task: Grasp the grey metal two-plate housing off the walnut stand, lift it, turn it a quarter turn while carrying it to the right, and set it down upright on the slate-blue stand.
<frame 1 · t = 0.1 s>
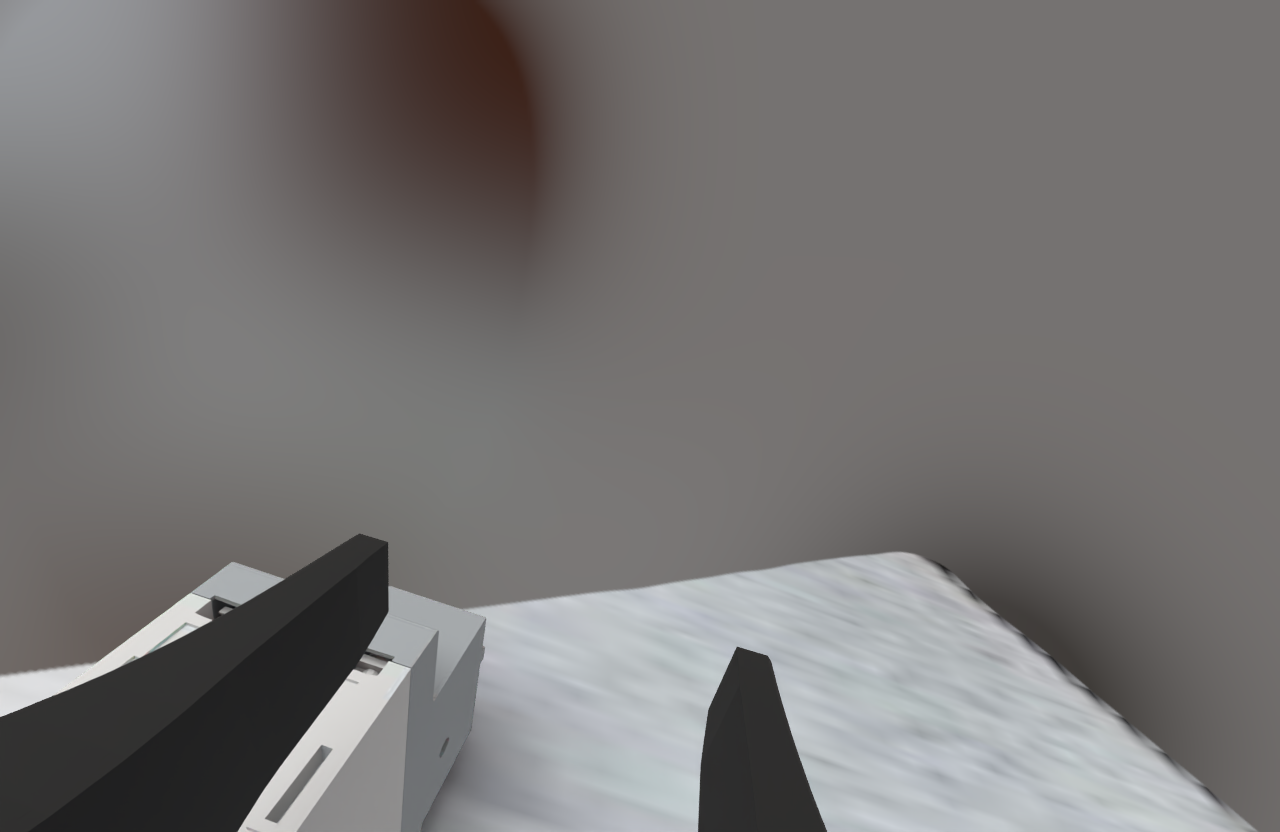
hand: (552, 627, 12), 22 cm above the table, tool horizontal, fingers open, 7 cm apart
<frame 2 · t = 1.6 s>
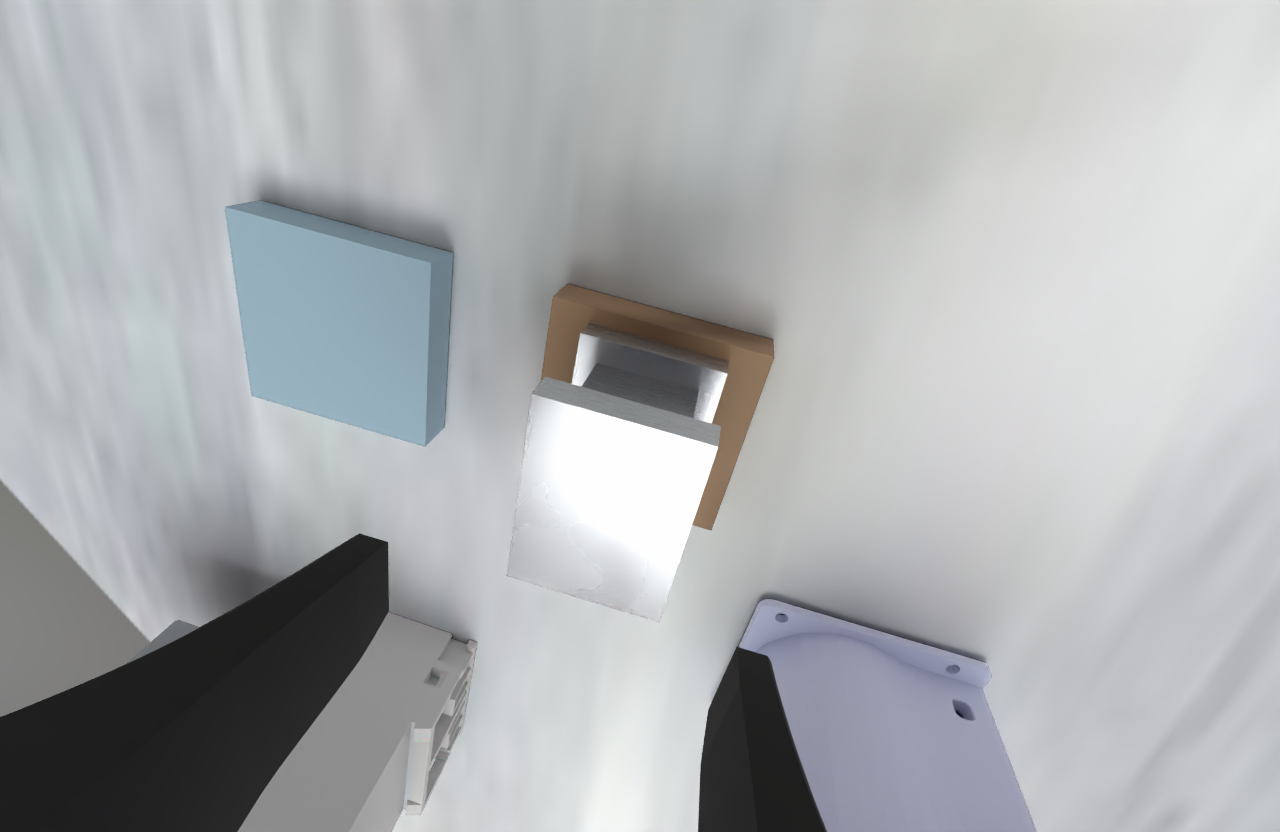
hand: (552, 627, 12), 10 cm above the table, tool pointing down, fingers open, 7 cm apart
stand b: (358, 322, 21), on the table
circuit breaker: (346, 641, 31), on the table
housing: (638, 422, 19), point 1 cm above the table, touching stand a
stand a: (646, 402, 21), on the table
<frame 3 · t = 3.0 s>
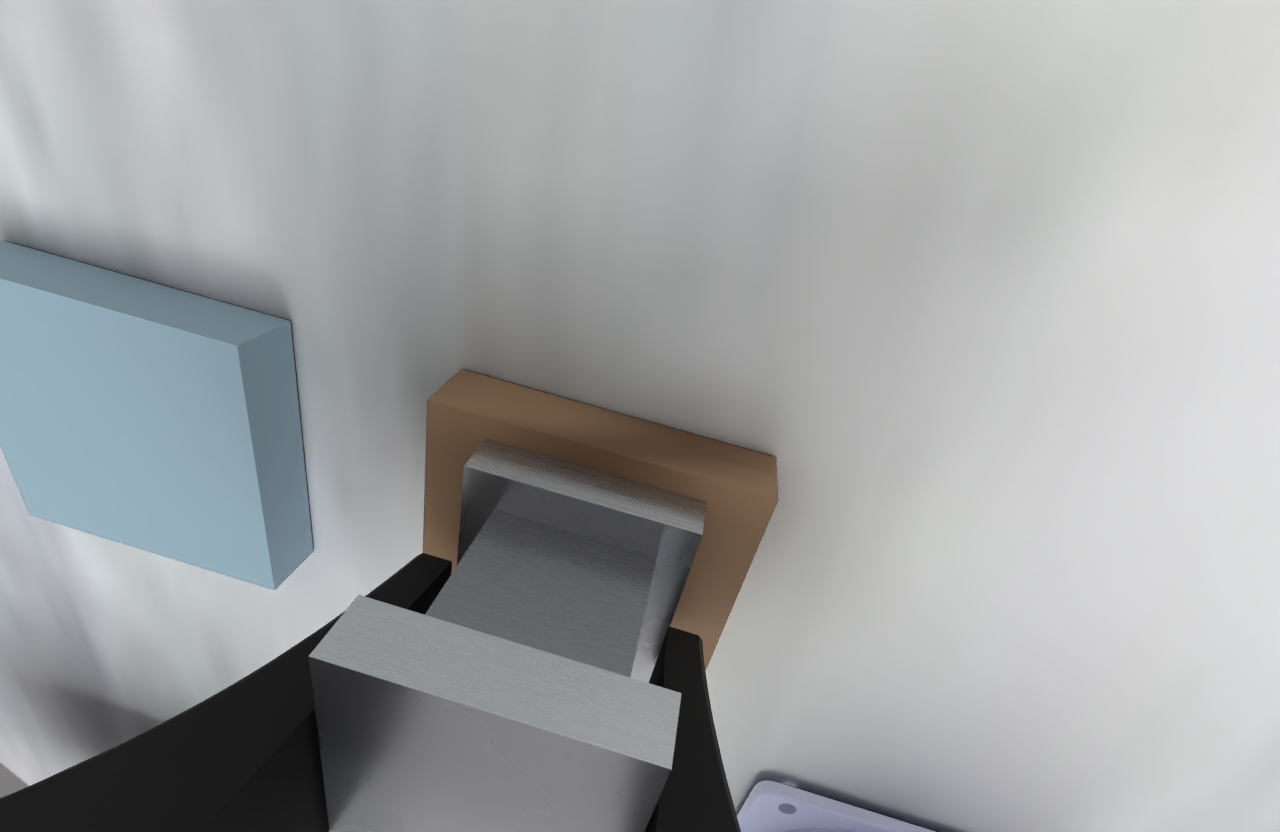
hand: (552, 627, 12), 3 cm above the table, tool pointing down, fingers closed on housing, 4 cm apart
stand b: (174, 412, 15), on the table
housing: (572, 577, 13), point 1 cm above the table, touching gripper, stand a
stand a: (589, 533, 14), on the table
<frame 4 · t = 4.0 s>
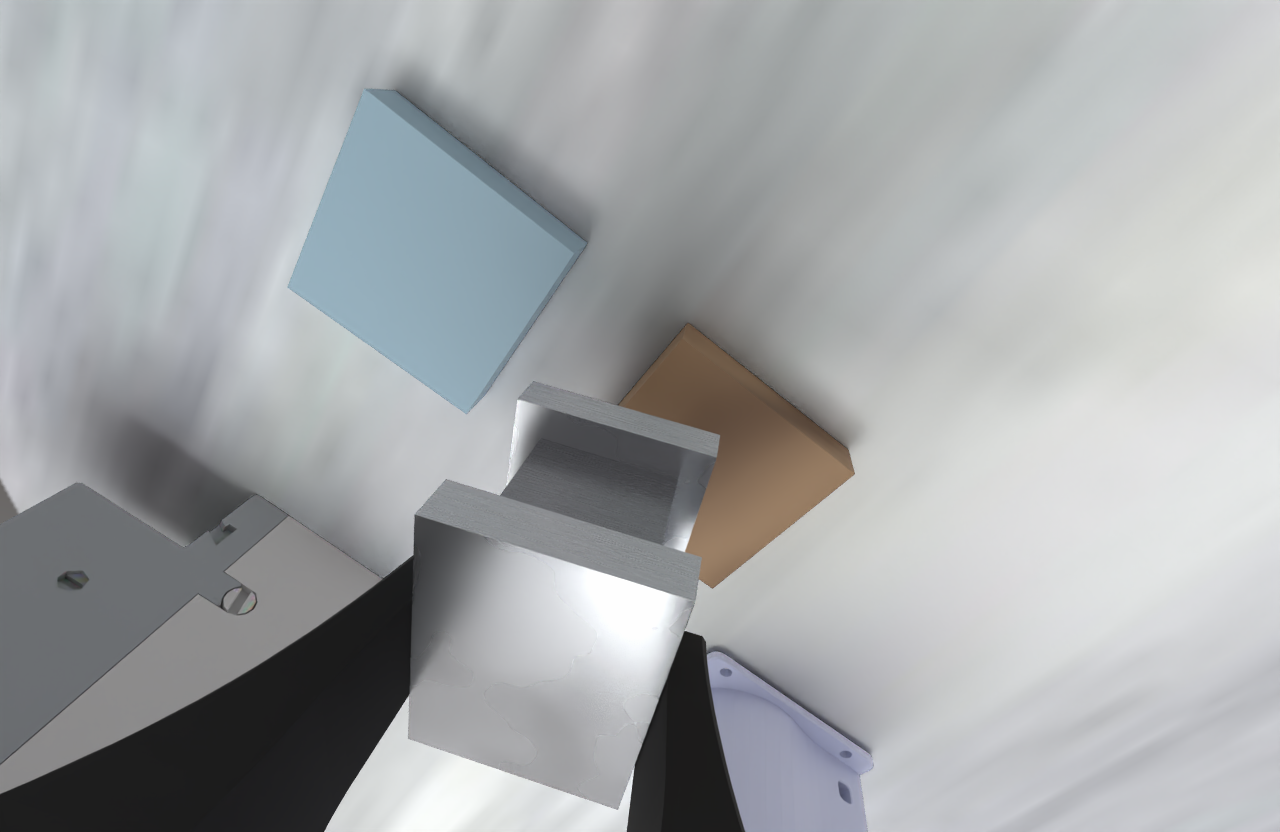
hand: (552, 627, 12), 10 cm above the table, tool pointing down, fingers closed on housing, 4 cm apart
stand b: (444, 260, 19), on the table
circuit breaker: (254, 547, 28), on the table
housing: (602, 508, 15), point 6 cm above the table, touching gripper
stand a: (703, 454, 21), on the table
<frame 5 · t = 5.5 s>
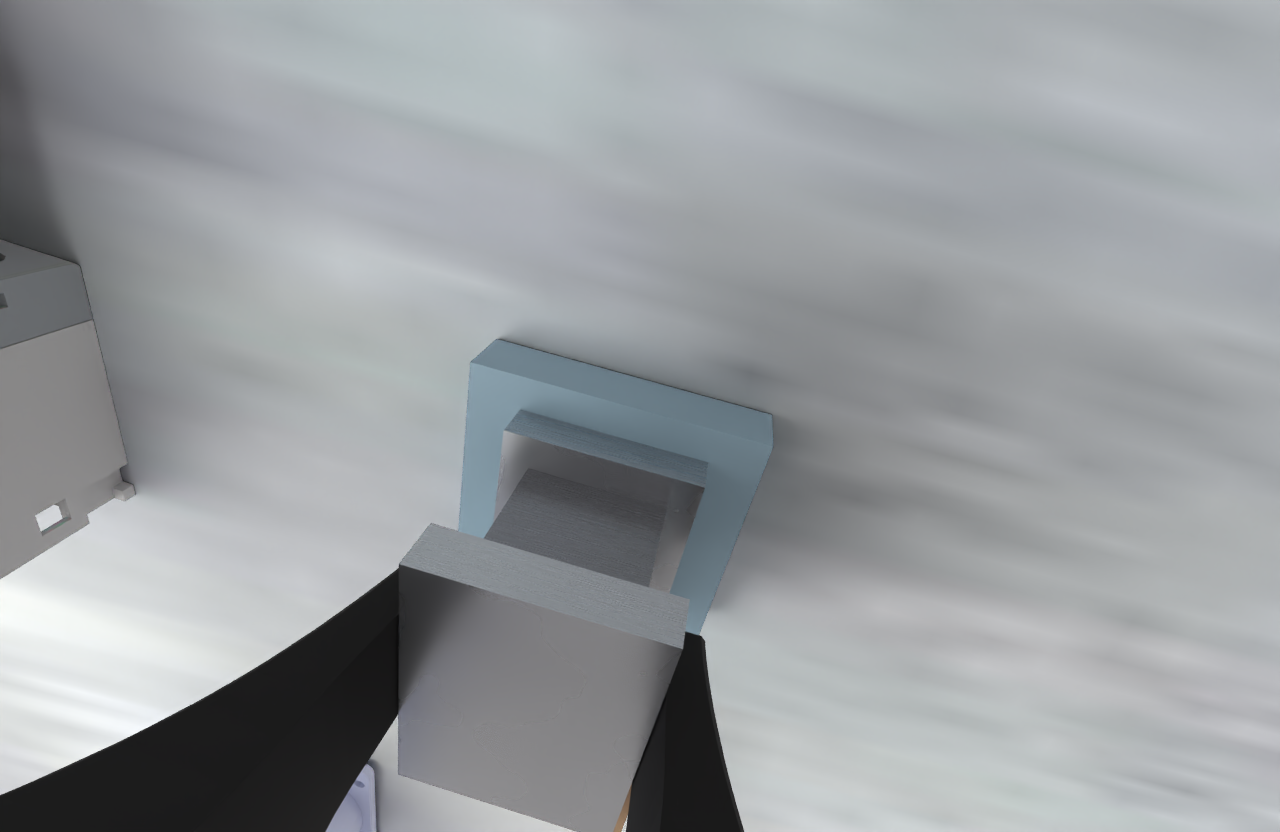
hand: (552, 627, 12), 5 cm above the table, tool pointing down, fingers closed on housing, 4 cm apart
stand b: (606, 488, 16), on the table
housing: (591, 532, 15), point 1 cm above the table, touching gripper, stand b
when the fingers open (4 cm above the table, at t = 6.1 s): housing stays where it is, resting on stand b.
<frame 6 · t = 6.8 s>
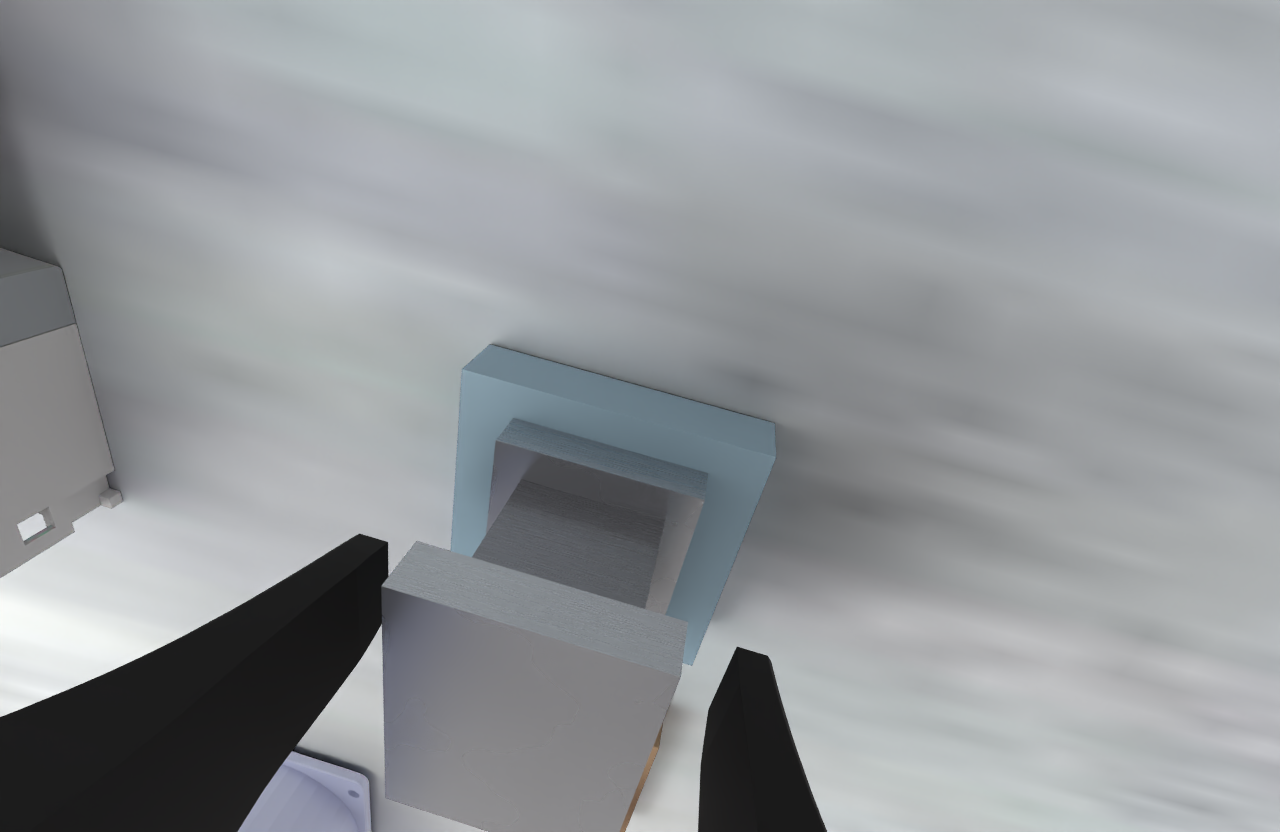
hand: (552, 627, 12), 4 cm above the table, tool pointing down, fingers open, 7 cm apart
stand b: (604, 497, 15), on the table
housing: (587, 544, 14), point 1 cm above the table, touching stand b
stand a: (549, 732, 21), on the table
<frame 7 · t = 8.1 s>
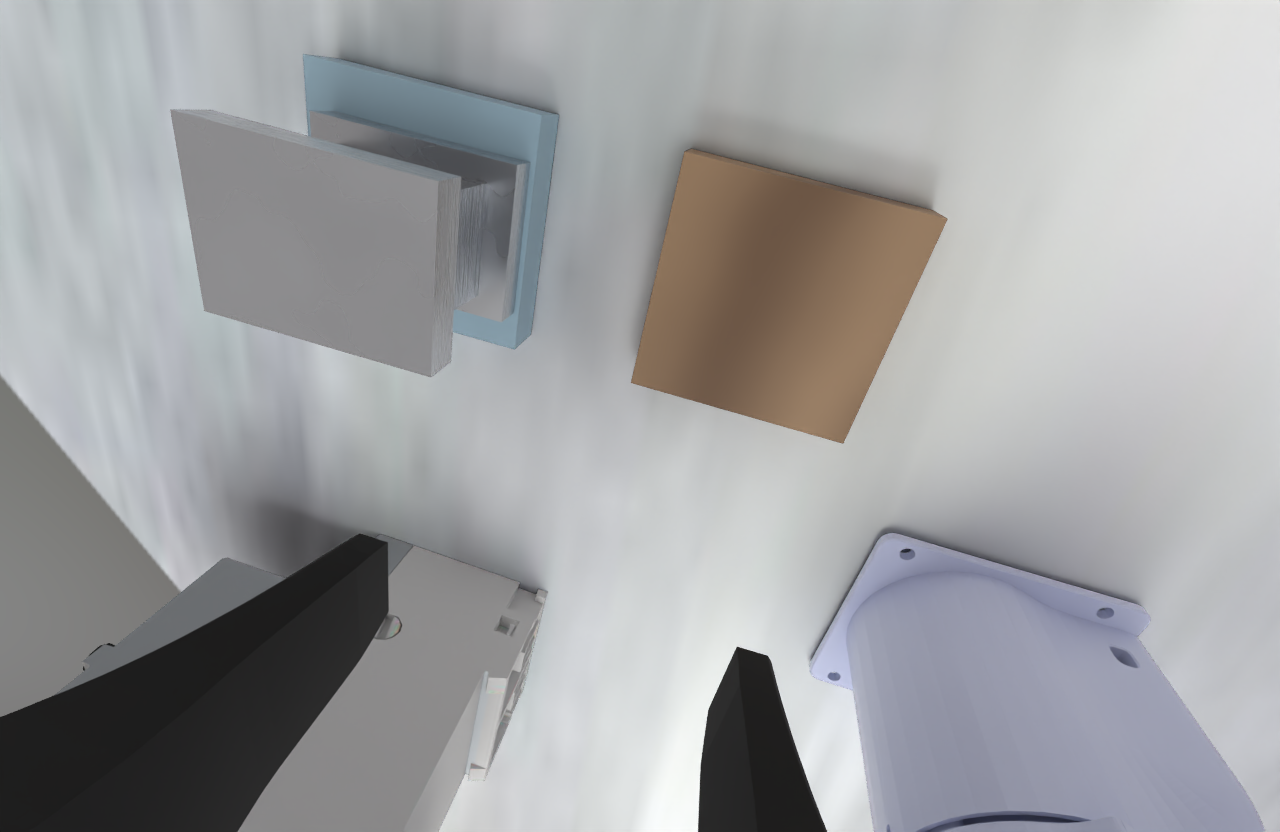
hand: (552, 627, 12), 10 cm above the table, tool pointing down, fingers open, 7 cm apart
stand b: (442, 207, 19), on the table
circuit breaker: (399, 593, 28), on the table
housing: (428, 216, 17), point 1 cm above the table, touching stand b
stand a: (770, 296, 18), on the table
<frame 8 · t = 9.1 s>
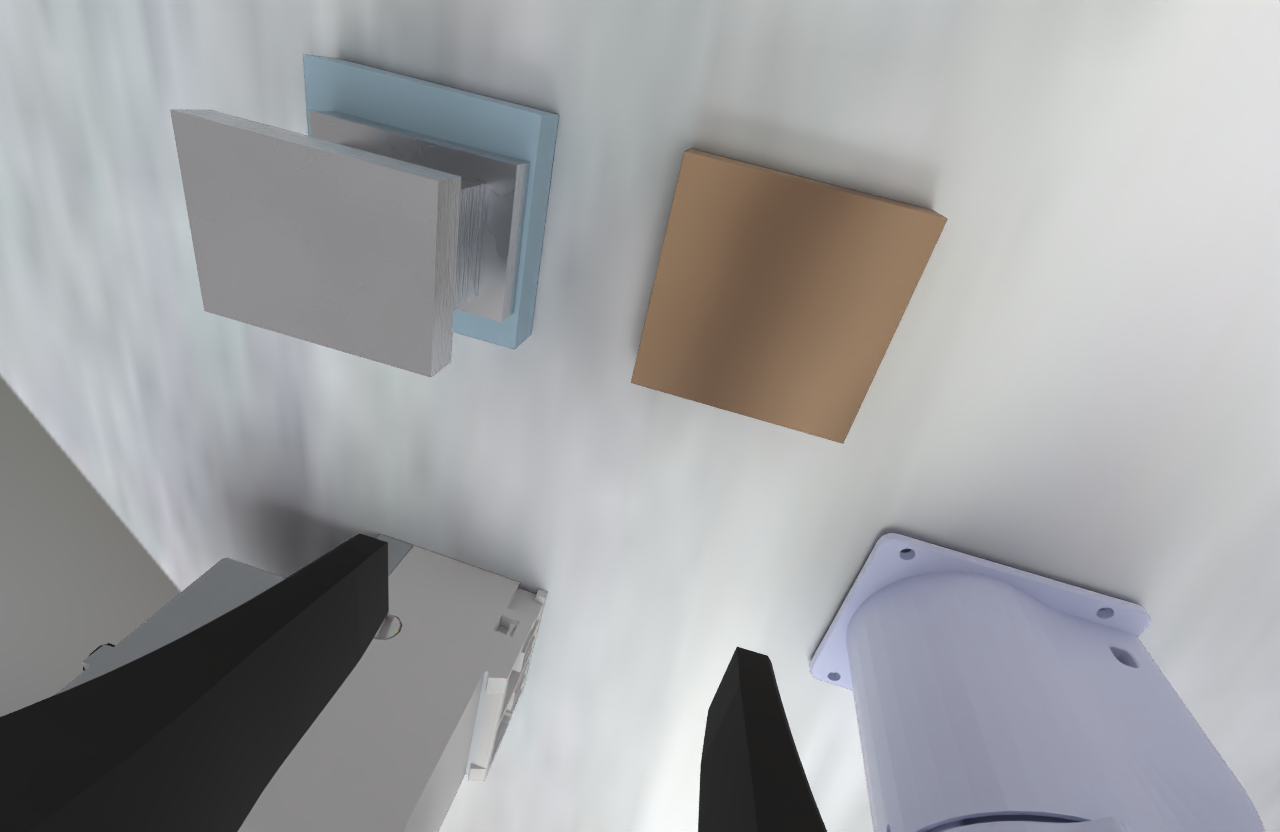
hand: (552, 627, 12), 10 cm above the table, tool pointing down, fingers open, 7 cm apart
stand b: (442, 207, 19), on the table
circuit breaker: (399, 593, 28), on the table
housing: (428, 216, 17), point 1 cm above the table, touching stand b
stand a: (770, 296, 18), on the table
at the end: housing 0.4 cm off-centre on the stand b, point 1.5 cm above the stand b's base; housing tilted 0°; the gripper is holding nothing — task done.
